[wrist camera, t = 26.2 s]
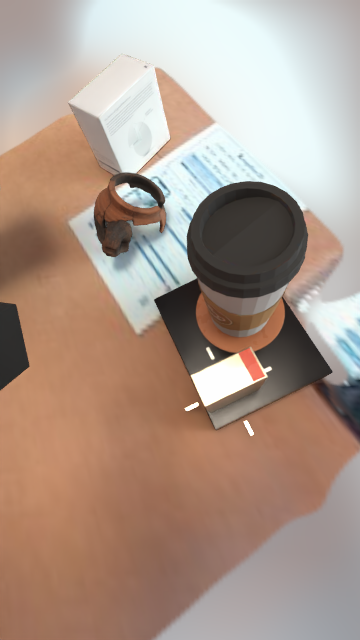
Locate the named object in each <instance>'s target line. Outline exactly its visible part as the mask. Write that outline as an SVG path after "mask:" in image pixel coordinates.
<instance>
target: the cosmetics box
mask: <svg viewBox="0 0 360 640" xmlns="http://www.w3.org/2000/svg"><path fill="white" fill-rule="evenodd" d="M68 104H69V106H70V107H71V109H72V111H73V113H74V115H75V117H76V119H77V121H78V123H79V125H80V127H81V129H82V131H83V133H84V135H85V137H86V139H87V141H88V143H89V145H90V147H91V149H92V151H93V153H94V155H95V157H96V159H97V161H98V163H99V165H100V167H101V168H103V169H105V170H106V171H108V172H110V173H112V174H113V175H116V174H118V173H124V172H129V173H135V174H136V173H137V172H138V171H139V170H140V169H141V168H142V167H143V166H144V165H145V164H146V163H147V162H148V161H149V160H150V159H151V158H152V157H153V156H154V155H155V154H156V153H157V152H158V151H159V149H160V148H161V147H162V146H163V145H164V144H165V143H166V142H167V141H168V140H169V139H170V135H169V130H168V127H167V122H166V118H165V114H164V110H163V106H162V101H161V97H160V92H159V88H158V83H157V79H156V74H155V69H154V66H153V65H152V64H149V63H146V62H144V61H141V60H138V59H136V58H133V57H130V56H128V55H124V54H121V55H120V56H119V57H118V58H116V59H115V60H114V61H113V62H112V63H111V64H110V65H109V66H108V67H107V68H105V69H104V70H103V71H102V72H101V73H100V74H99V75H98V76H96V77H95V78H94V79H93V80H92V81H91V82H90V83H89V84H88V85H86V86H85V87H84V88H83V89H82V90H81V91H80V92H79V93H77V94H76V95H75V96H74V97H73V98H72V99H71V100H70V101H68Z"/></svg>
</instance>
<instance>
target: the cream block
mask: <svg viewBox="0 0 360 640" xmlns="http://www.w3.org/2000/svg"><path fill="white" fill-rule="evenodd" d="M190 377H191V379H192V381H193V383H194V385H195V388H196V390H197V392H198V394H199V396H200V398H201V401H202V403H203V405H204V407H205V408H206V409H207V410H208V411H209V412H210V413H213V412H215V411H217V410H219V409H221V408H223V407H225V406H227V405H229V404H231V403H233V402H235V401H237V400H239V399H242V398H244V397H246V396H248V395H250V394H252V393H254V392H256V391H258V390H259V389H260V388H261V386H262V385H263V383H264V382H265V380H266V379H267V377H268V376H267V374H266V372H265V371H264V369H263V367H262V365H261V364H260V362H259V360H258V358H257V356H256V355H255V353H254V351H253V349H252V348H251V347H248V348H246V349H244V350H242V351H239V352H237V353H235V354H233V355H231V356H229V357H227V358H225V359H223V360H221V361H219V362H217V363H214V364H212V365H210V366H208V367H206V368H204V369H202V370H200V371H198V372H196V373H194V374H192V375H190Z"/></svg>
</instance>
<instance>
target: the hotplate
mask: <svg viewBox="0 0 360 640" xmlns="http://www.w3.org/2000/svg"><path fill="white" fill-rule="evenodd" d="M201 293H202V292H201V289H200V287H199V284H198V278H197V279H195V280H193V281H191V282H189V283H187V284H185V285H183V286H181V287H179V288H177V289H175V290H173V291H171V292H168V293H166V294H164V295H162V296H160V297H158V298H156V299H154V301H155V303H156V305H157V307H158V309H159V311H160V314H161V316H162V318H163V320H164V322H165V324H166V326H167V328H168V330H169V333H170V335H171V337H172V339H173V341H174V343H175V345H176V347H177V350H178V352H179V354H180V356H181V358H182V360H183V362H184V364H185V366H186V369H187V371H188V373H189V375H192V374H194V373H196V372H198V371H200V370H202V369H204V368H206V367H208V366H210V365H212V364H214V363H217V362H219V361H221V360H223V359H225V358H227V357H229V356H231V355H233V354H235V353H231V352H227V351H224V350H221V349H219V348H218V347H216V346H214V345H213V344H211V343H210V342H209V341H208V340H207V339H206V338H205V336H204V335H203V334H202V332H201V330H200V328H199V326H198V323H197V319H196V306H197V302H198V299H199V296H200V294H201ZM282 300H283V303H284V309H285V317H284V322H283V325H282V328H281V330H280V332H279V334H278V335H277V336H276V338H275V339H274V340H273V341H272V342H271V343H269V344H268V345H267V346H265V347H263V348H262V349H259V350H257V351H254V353H255V355H256V356H257V358H258V360H259V362H260V364H261V365H262V367H263V369H264V371H265V372H266V374H267V376H268V377H267V379H266V380H265V382H264V383H263V385H262V386H261V388H260V389H259V390H258V391H256V392H254V393H252V394H250V395H248V396H246V397H244V398H242V399H239V400H237V401H235V402H233V403H231V404H229V405H227V406H225V407H223V408H221V409H219V410H217V411H215V412H213V413H210V412H209V411H208V410H207V409H206V408H205V409H206V411H207V413H208V415H209V417H210V419H211V422H212V424H213V426H214V428H215V430H219V429H221V428H223V427H225V426H227V425H229V424H231V423H233V422H235V421H237V420H239V419H241V418H243V417H245V416H247V415H249V414H251V413H253V412H255V411H257V410H259V409H261V408H263V407H265V406H267V405H269V404H271V403H273V402H275V401H277V400H279V399H281V398H283V397H285V396H287V395H289V394H291V393H293V392H296V391H298V390H300V389H302V388H304V387H306V386H308V385H310V384H312V383H314V382H316V381H318V380H320V379H322V378H324V377H326V376H327V375H329V374H331V373H332V370H331V369H330V367H329V366H328V364H327V363H326V361H325V360H324V358H323V357H322V355H321V354H320V352H319V351H318V349H317V348H316V346H315V345H314V343H313V342H312V340H311V339H310V337H309V336H308V334H307V333H306V331H305V330H304V328H303V327H302V325H301V324H300V322H299V321H298V319H297V318H296V316H295V315H294V313H293V312H292V310H291V309H290V307H289V306H288V304H287V303H286V301H285V300H284V298H283V297H282ZM194 386H195V385H194ZM197 406H199V404H198V402H197V403H195V404H193V405H191V406H189V407H186V408H185V409H186V411H189V410H191V409H193V408H195V407H197ZM244 424H245V426H246V428H247V430H248V432H249V434H250V436H251V435H253V434H254V433H253V431H252V429H251V427H250V425H249V423H248V421H247V420H246V421H244Z"/></svg>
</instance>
